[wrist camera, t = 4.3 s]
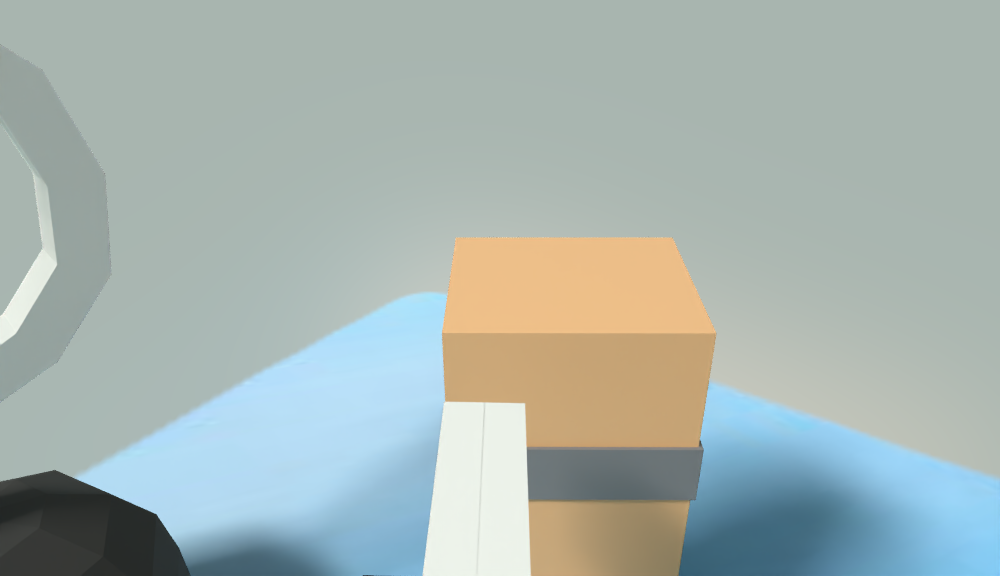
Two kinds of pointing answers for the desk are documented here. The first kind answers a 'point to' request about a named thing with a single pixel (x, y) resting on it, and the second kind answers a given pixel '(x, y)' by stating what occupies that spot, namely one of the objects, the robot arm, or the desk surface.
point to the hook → (62, 349)
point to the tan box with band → (589, 389)
